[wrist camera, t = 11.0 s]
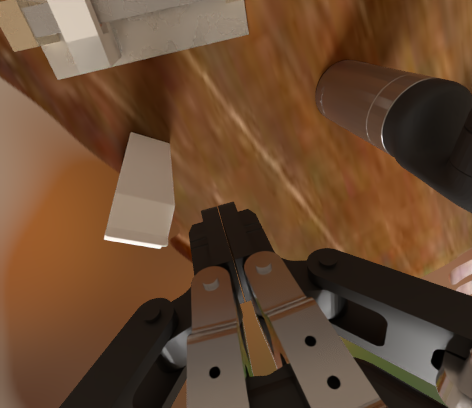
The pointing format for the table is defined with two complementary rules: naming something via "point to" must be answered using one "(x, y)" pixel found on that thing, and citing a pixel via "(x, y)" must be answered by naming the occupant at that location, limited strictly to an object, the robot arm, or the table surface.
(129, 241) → the milk
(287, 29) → the table surface
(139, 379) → the robot arm
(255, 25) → the table surface
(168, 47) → the rod and plate slider
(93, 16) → the collar
